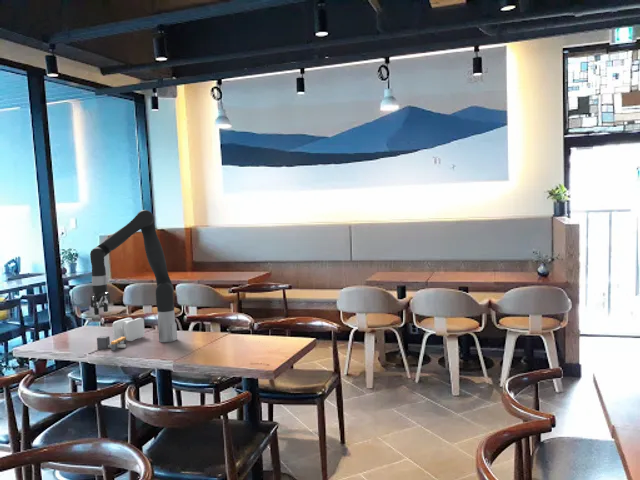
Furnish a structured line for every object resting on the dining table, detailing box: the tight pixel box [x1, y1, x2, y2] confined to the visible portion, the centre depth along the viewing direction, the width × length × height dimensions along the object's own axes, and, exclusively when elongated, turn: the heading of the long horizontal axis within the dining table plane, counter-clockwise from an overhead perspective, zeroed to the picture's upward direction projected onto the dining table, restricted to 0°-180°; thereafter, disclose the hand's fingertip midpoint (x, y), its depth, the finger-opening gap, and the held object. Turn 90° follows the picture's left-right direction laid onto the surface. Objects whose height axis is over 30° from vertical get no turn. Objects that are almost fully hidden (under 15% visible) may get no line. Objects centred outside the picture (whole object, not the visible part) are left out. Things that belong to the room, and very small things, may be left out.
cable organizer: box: [111, 317, 146, 342], centre depth 304 cm, size 15×11×12 cm
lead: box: [96, 335, 127, 350], centre depth 285 cm, size 15×4×6 cm, turn 82°
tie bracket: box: [110, 337, 127, 352], centre depth 285 cm, size 2×11×5 cm, turn 172°
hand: (101, 313), depth 287 cm, fingers open, 8 cm apart
